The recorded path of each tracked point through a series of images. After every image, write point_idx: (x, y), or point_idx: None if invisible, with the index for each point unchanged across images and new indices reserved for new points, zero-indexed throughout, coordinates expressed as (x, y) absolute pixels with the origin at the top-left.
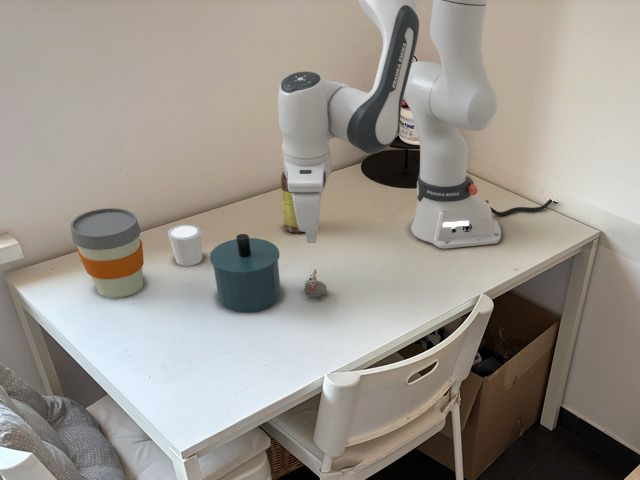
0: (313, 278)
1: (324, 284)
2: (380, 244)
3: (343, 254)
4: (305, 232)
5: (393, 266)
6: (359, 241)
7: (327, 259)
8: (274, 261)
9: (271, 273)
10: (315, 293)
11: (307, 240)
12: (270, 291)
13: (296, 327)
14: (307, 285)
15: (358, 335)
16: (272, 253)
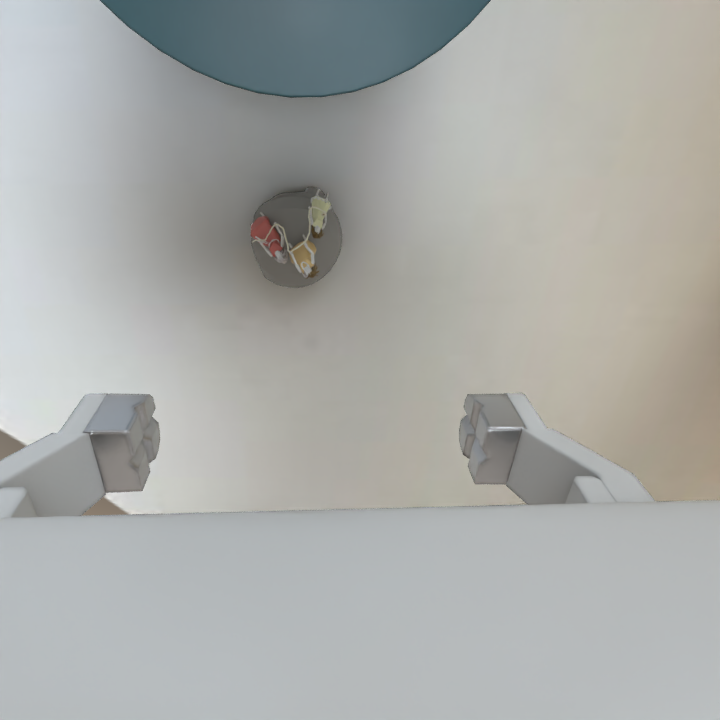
0: (298, 251)
1: (311, 280)
2: (601, 435)
3: (574, 328)
4: (5, 458)
5: (460, 465)
6: (644, 377)
7: (555, 272)
8: (181, 61)
9: None
10: (253, 242)
11: (82, 403)
12: None
13: (43, 150)
14: (299, 211)
15: (46, 373)
16: (301, 40)
